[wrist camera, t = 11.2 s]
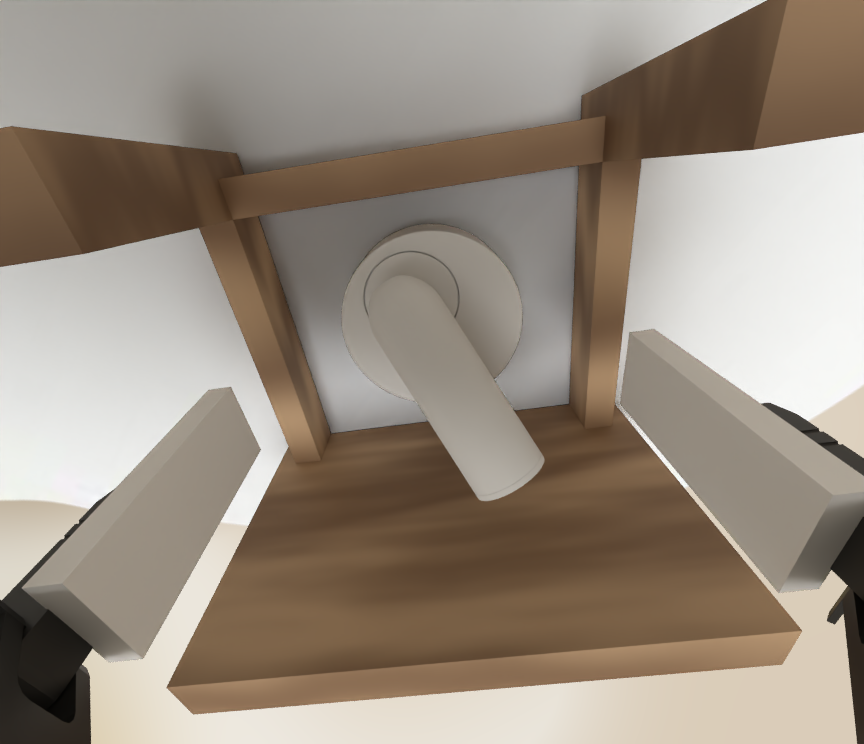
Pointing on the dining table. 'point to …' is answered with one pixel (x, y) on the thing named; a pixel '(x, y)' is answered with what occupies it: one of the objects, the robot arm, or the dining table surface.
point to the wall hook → (445, 346)
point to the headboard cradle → (418, 443)
